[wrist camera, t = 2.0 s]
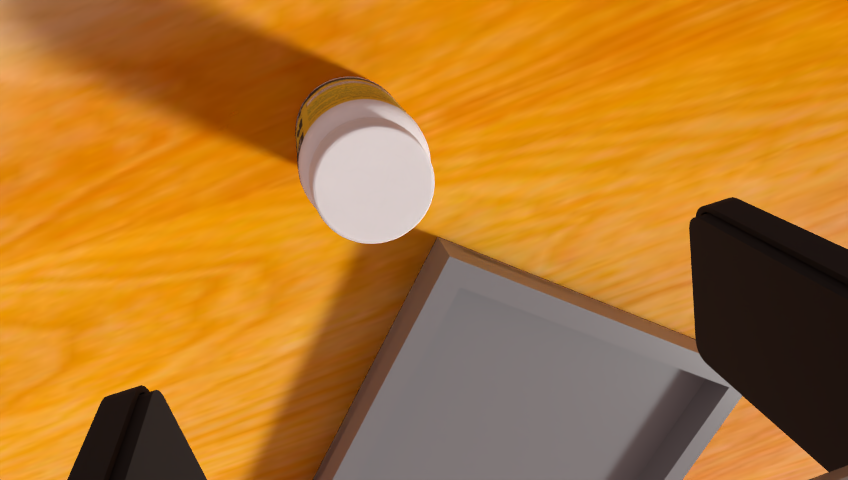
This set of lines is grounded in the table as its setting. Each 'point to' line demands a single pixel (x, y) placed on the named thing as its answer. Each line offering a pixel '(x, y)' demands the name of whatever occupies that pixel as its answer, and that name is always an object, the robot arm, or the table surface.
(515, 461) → the serving tray
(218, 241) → the table surface
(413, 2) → the table surface
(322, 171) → the supplement bottle
